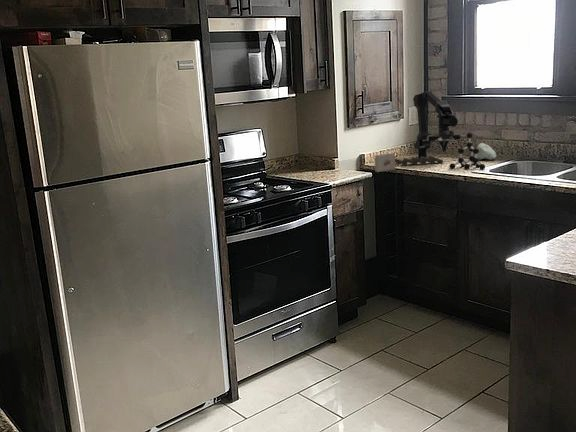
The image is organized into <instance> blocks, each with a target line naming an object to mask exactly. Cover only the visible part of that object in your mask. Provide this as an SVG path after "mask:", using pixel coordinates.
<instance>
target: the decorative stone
mask: <svg viewBox="0 0 576 432" xmlns="http://www.w3.org/2000/svg"><path fill="white" fill-rule="evenodd" d="M476 148H477V149H478V150H479V152H478V153H477V158H478V159H479V160H480V161H481V160H488V161H493V160H494V159H495V158H497V153H496V151H495V150H494V149H493V148H492V147H491V146H490V145H488V144H487V143H484V142H480V143H479V144H478V145H477V146H476Z"/></svg>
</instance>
